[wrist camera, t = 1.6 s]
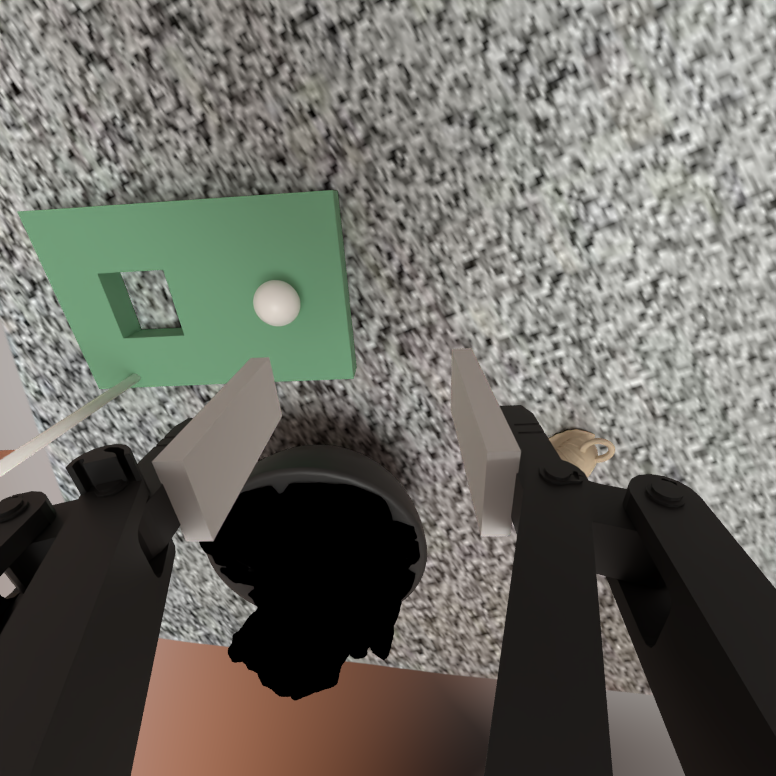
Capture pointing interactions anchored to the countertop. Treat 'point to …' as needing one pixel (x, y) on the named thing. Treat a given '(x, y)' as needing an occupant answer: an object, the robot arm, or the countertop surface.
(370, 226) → the countertop surface
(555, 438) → the decorative ornament
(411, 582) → the coal bowl
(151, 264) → the green
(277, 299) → the ball
